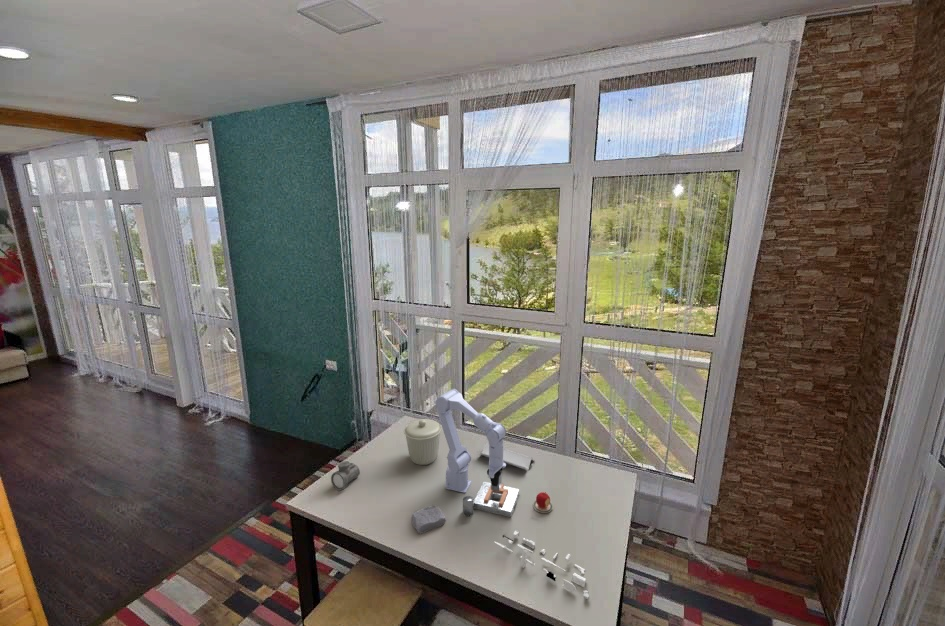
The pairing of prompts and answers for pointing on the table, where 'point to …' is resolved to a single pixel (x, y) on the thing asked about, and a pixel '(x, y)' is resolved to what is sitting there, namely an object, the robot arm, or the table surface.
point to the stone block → (428, 519)
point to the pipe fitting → (344, 474)
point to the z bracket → (511, 457)
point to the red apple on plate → (543, 503)
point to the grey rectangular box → (497, 488)
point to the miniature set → (567, 584)
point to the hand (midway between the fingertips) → (496, 482)
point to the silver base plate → (494, 505)
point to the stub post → (468, 506)
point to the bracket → (504, 491)
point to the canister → (423, 440)
